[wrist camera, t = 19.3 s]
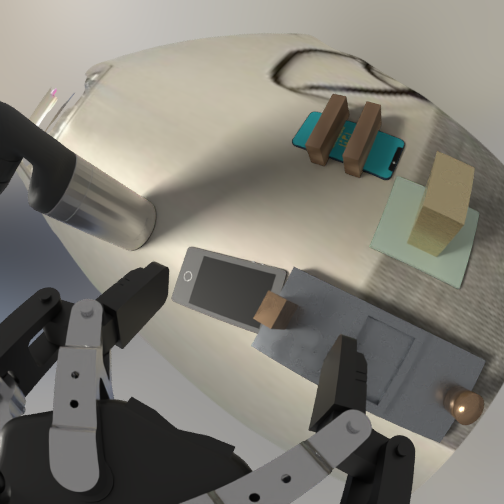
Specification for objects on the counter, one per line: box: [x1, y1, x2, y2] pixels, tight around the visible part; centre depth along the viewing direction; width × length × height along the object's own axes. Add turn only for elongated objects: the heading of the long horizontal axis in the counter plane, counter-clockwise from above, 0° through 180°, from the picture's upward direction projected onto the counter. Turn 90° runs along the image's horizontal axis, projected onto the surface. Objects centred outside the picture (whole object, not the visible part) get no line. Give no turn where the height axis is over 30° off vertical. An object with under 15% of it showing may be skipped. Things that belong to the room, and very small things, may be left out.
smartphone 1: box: [171, 247, 287, 334], centre depth 36 cm, size 15×8×1 cm, turn 71°
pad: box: [370, 176, 479, 289], centre depth 27 cm, size 12×10×1 cm
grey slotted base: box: [251, 267, 486, 443], centre depth 23 cm, size 25×10×7 cm, turn 59°
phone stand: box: [305, 94, 381, 178], centre depth 33 cm, size 7×10×4 cm
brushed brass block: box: [407, 151, 475, 257], centre depth 23 cm, size 4×6×10 cm, turn 149°
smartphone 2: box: [292, 112, 404, 180], centre depth 35 cm, size 7×1×15 cm
